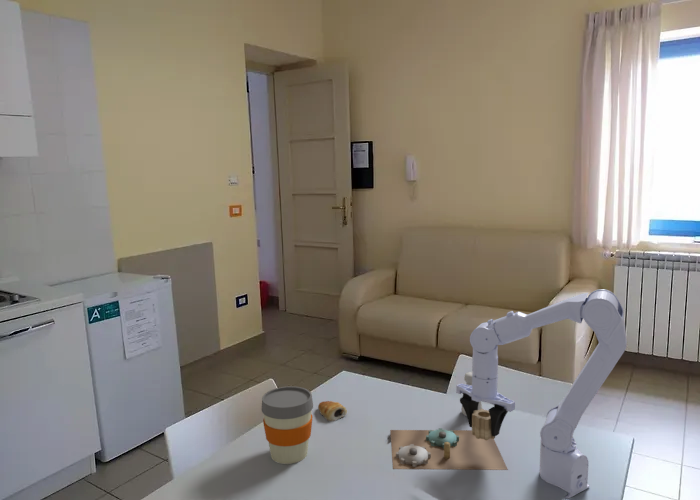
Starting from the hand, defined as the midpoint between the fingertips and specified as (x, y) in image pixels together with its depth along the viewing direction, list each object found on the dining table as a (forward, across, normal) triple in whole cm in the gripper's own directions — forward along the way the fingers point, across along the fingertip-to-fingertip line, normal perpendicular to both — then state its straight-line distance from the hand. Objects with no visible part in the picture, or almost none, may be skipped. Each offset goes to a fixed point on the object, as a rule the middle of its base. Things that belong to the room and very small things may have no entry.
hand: (483, 430), depth 120 cm
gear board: (+8, -9, -3) cm, 12 cm away
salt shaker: (+8, -15, +17) cm, 24 cm away
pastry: (+8, -44, -10) cm, 46 cm away
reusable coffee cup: (+8, -35, -31) cm, 48 cm away
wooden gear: (+1, 0, 0) cm, 1 cm away
